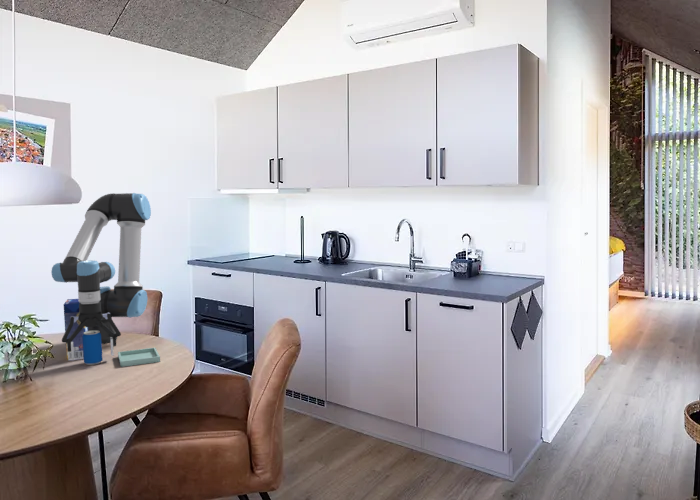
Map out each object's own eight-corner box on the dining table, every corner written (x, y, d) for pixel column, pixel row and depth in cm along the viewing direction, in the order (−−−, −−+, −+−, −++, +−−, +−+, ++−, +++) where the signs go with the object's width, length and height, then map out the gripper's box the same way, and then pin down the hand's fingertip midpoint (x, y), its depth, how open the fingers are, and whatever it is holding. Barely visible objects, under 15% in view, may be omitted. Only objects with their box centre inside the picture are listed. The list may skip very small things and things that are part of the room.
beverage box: (89, 351, 228) (86, 298, 226) (86, 358, 218) (83, 303, 216) (70, 352, 226) (67, 299, 224) (66, 360, 216) (63, 304, 213)
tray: (118, 356, 220) (117, 352, 220) (155, 352, 226) (155, 347, 226) (120, 367, 208) (120, 361, 207) (160, 361, 214) (160, 356, 214)
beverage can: (105, 360, 216) (104, 330, 214) (96, 365, 209) (95, 334, 208) (90, 360, 216) (88, 329, 215) (80, 365, 210) (78, 334, 208)
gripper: (51, 307, 201) (55, 364, 204) (126, 300, 212) (129, 355, 215) (52, 303, 208) (56, 358, 210) (124, 297, 219) (127, 350, 221)
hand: (92, 357), depth 212 cm, fingers open, 13 cm apart
